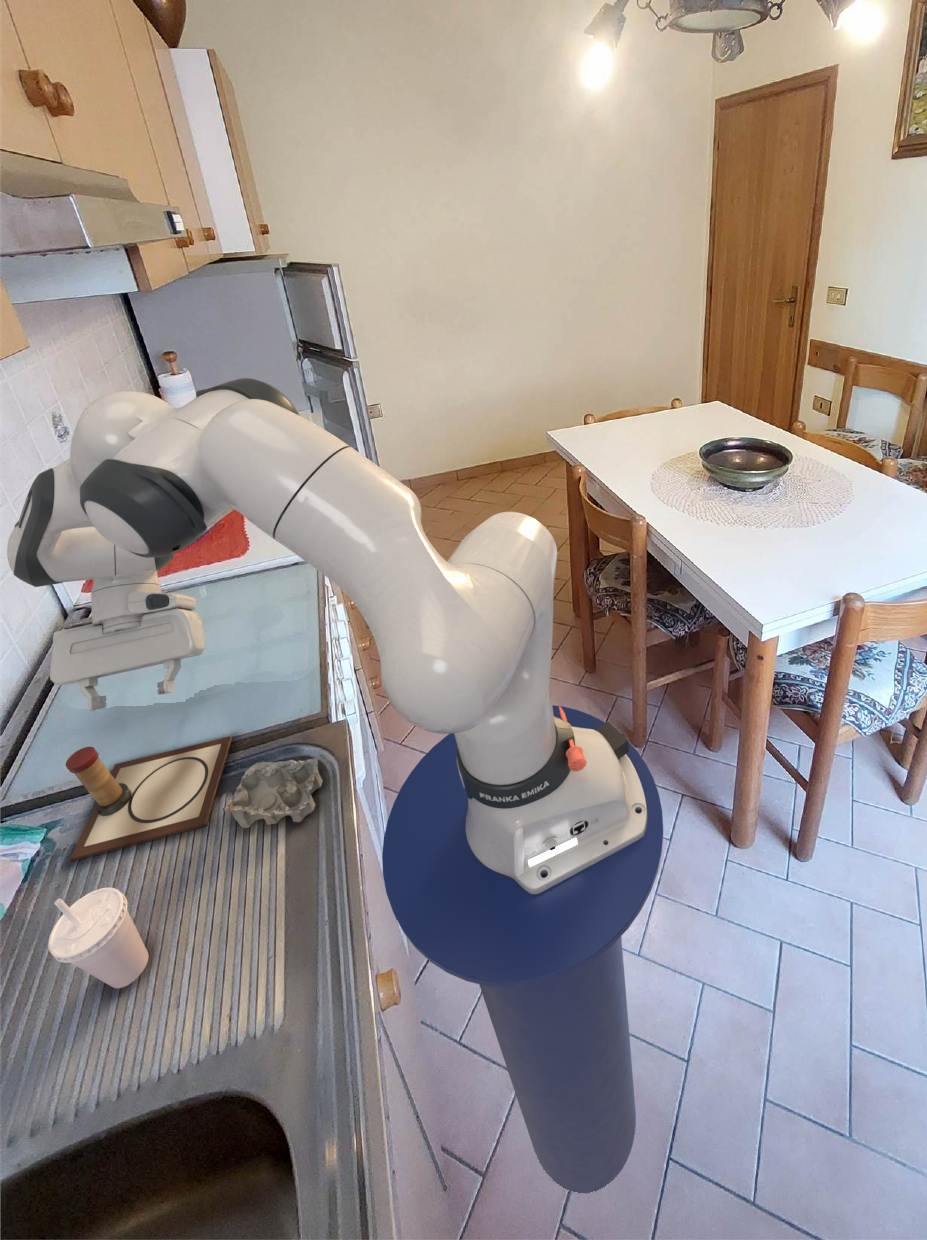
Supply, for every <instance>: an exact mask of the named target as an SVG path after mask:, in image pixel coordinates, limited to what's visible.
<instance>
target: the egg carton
mask: <svg viewBox="0 0 927 1240" xmlns="http://www.w3.org/2000/svg"><path fill="white" fill-rule="evenodd" d="M318 765H319V757H314V758H309V759H306V760H300V759H298V760H297V761H296V760H294V759H288V760H284V761H280V760H279V761H275V762H271V761H260V762H256V763H254V764H253V765H251V766H250V767H248V768H247V769H246V771H245V772H244V774H243V775H242V777H241V780H240V783H239V785H238V786H237V787H236V790H235V796H234V798H233V800H232V799H231V798H230V800H228V802H227V804H226V806H224V807H223V808H222V811H223V812H222V813H225V811H226V812H229V811H230V812H231V815H232V816H233V818H234V820H235V821H236V822H237V823H238V824H239V826H240V827H241V828H243V829H247V828H248V829H249V828H250V827H251V826H252V825H253V824H254V823H255V822H256V821H258V820H262V819H264V821H265V823H266V825H267V826H270V825H275V824H278V822H279V821H280V820H281V819H282V818H284V817H287V816H290V817H291V818H292V822H294V823H300V822H302V821H303V820H304V819H305V817H306V816H308V815H309V814H311V813H312V812H313V811H314V810H315V808H316V802H315V801H314V798H313V797H312V796H313V795H312V794H313V793H314V792H315V791H316V790H318V789H319V788H321V787H322V784H323V779H322V776H321V775H320V773H319V772H320V771H319V766H318Z"/></svg>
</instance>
